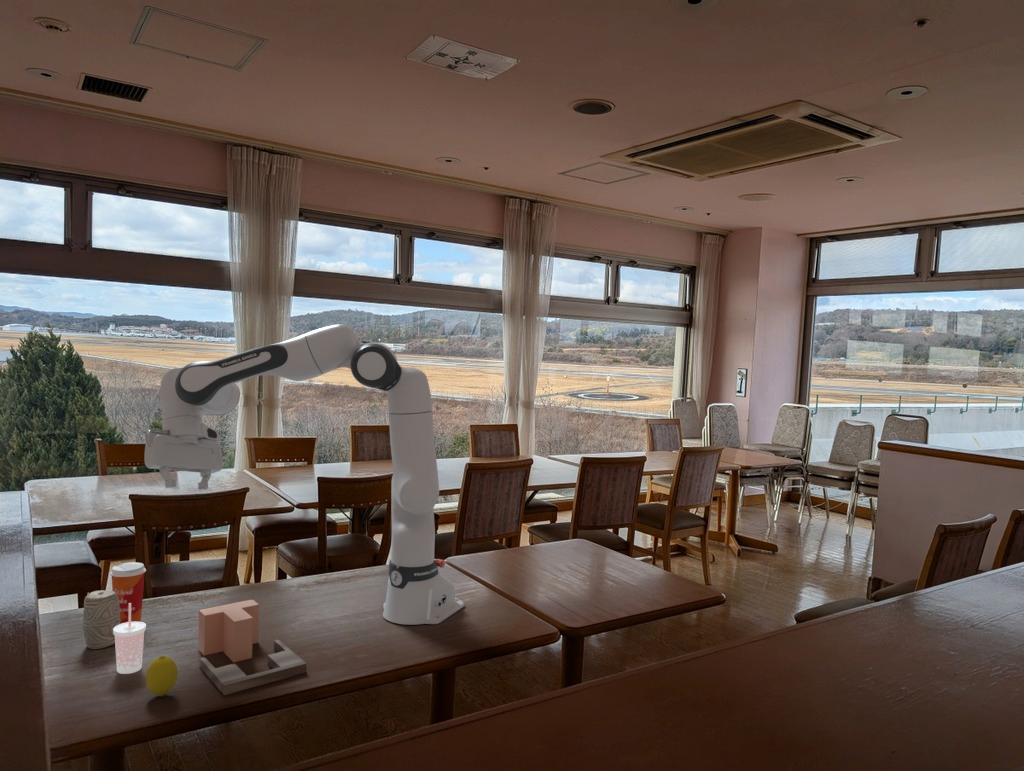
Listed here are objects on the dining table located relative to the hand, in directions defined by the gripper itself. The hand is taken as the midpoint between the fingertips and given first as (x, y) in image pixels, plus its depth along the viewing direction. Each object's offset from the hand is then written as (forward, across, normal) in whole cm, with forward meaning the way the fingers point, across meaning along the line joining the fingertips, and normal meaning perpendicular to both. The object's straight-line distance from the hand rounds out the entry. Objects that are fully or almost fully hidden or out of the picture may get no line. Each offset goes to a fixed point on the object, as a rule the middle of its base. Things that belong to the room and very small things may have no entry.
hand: (187, 488), depth 172 cm
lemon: (+44, -17, -8) cm, 48 cm away
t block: (+39, +4, -6) cm, 39 cm away
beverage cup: (+38, -13, +6) cm, 41 cm away
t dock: (+43, 0, -15) cm, 45 cm away
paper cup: (+27, +2, +25) cm, 37 cm away
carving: (+31, -9, +20) cm, 38 cm away
